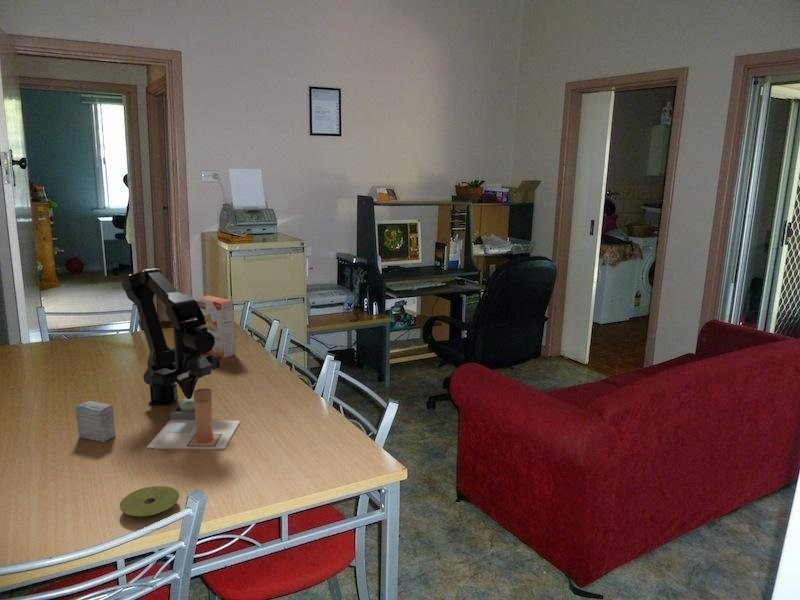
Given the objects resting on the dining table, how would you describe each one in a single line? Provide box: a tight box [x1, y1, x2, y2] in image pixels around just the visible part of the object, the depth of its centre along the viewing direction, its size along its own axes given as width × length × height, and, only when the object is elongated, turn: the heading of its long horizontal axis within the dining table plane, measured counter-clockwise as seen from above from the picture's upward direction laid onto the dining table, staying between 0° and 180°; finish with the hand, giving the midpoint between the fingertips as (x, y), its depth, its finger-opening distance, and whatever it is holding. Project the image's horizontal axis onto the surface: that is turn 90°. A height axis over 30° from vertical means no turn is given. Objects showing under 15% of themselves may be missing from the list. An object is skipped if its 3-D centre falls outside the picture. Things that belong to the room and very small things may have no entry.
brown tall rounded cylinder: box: [193, 387, 213, 443], centre depth 150 cm, size 4×4×13 cm
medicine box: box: [75, 400, 117, 443], centre depth 152 cm, size 8×4×9 cm, turn 71°
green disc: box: [119, 485, 180, 517], centre depth 122 cm, size 11×11×2 cm
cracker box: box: [195, 294, 236, 360], centre depth 218 cm, size 14×6×21 cm, turn 55°
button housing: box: [169, 401, 196, 421], centre depth 167 cm, size 8×8×2 cm
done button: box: [179, 397, 195, 412], centre depth 166 cm, size 5×5×3 cm
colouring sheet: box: [146, 419, 241, 450], centre depth 155 cm, size 19×16×1 cm
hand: (188, 398), depth 166 cm, fingers closed
